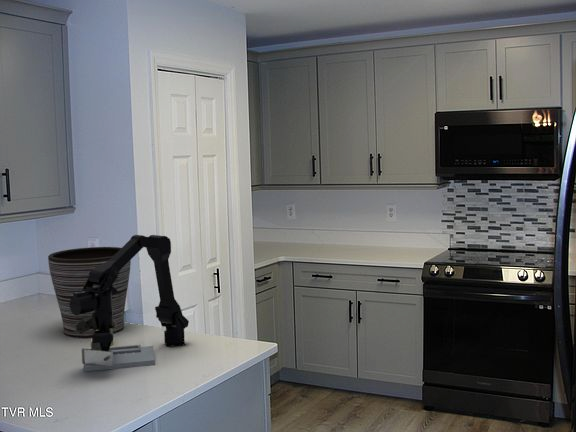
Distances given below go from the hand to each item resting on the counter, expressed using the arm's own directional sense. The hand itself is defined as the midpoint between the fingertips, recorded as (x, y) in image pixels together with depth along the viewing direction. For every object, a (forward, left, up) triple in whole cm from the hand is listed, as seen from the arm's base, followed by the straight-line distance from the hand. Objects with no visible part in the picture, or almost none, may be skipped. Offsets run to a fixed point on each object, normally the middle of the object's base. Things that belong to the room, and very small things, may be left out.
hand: (105, 356), depth 213 cm
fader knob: (+3, -11, -2) cm, 11 cm away
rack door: (+2, +2, -2) cm, 4 cm away
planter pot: (+6, -47, -4) cm, 47 cm away
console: (-4, -6, -4) cm, 8 cm away
